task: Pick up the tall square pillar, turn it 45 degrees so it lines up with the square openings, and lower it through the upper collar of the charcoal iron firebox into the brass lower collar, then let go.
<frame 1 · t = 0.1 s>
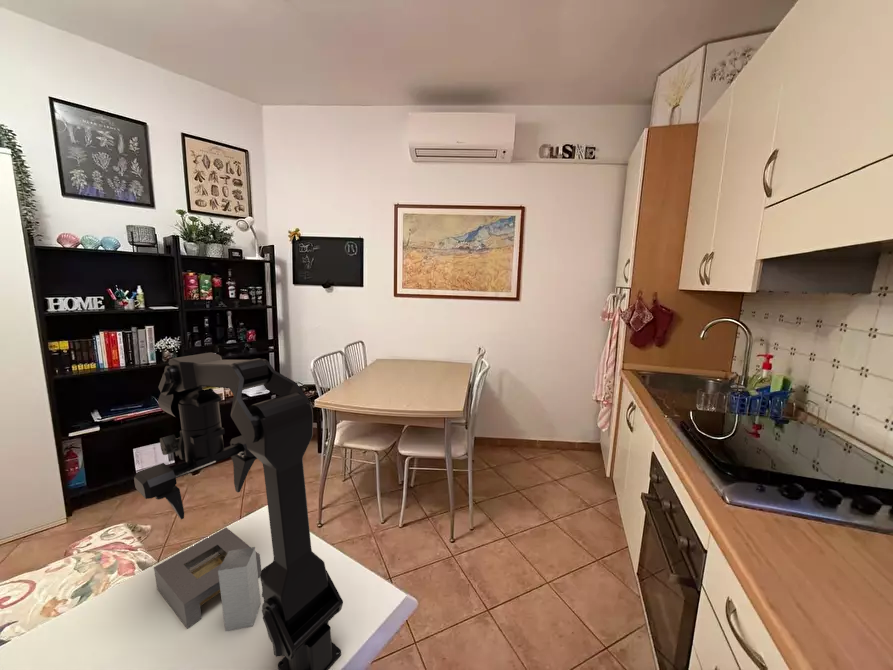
hand: (211, 504, 63), 14 cm above the table, tool pointing down, fingers open, 9 cm apart
firebox: (210, 582, 63), on the table
tall square pillar: (243, 616, 57), on the table
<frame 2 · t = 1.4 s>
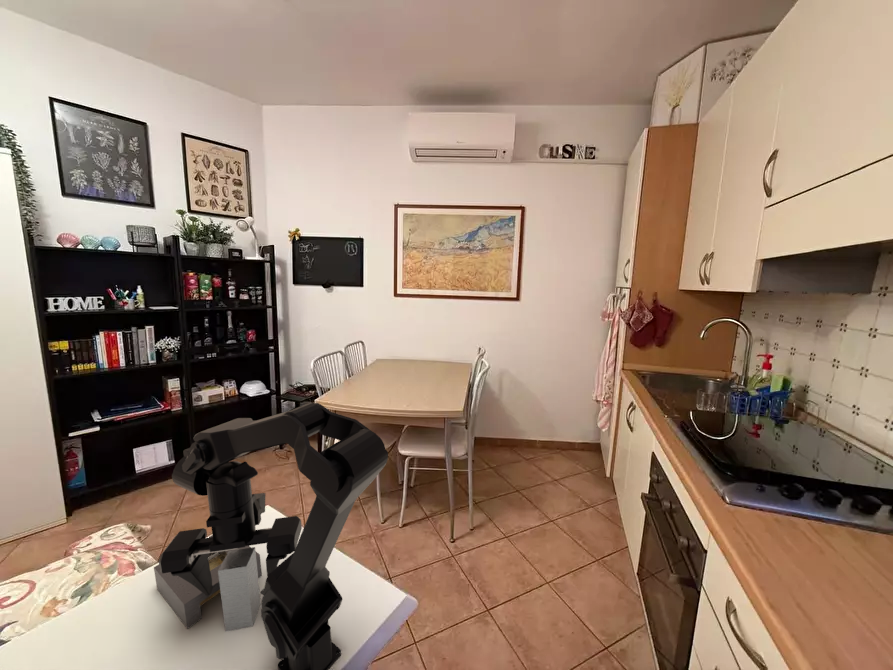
hand: (241, 588, 56), 6 cm above the table, tool pointing down, fingers open, 9 cm apart
nothing on the table moved.
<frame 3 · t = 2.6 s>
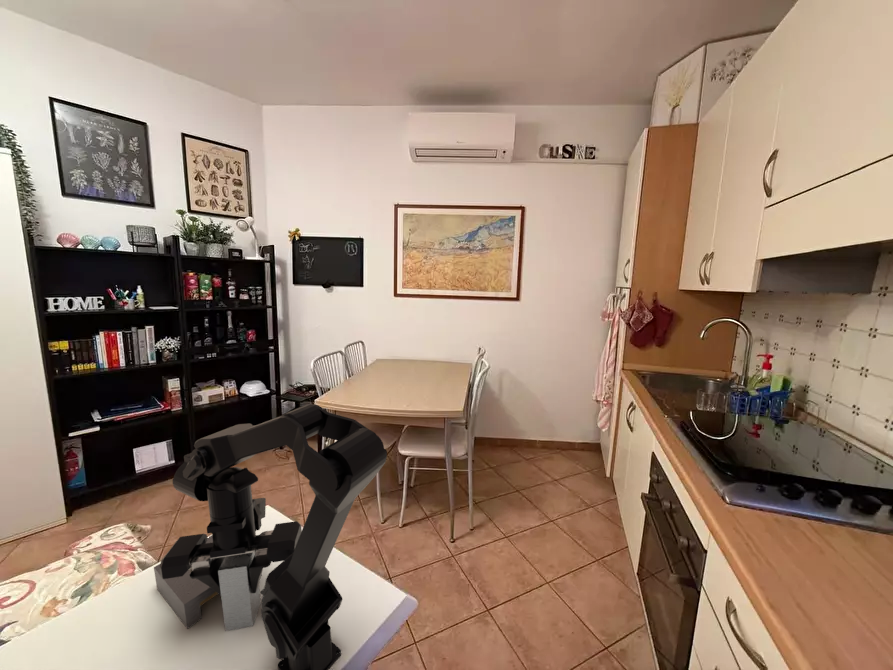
hand: (241, 593, 56), 5 cm above the table, tool pointing down, fingers closed on tall square pillar, 4 cm apart
tall square pillar: (243, 616, 57), on the table, touching gripper
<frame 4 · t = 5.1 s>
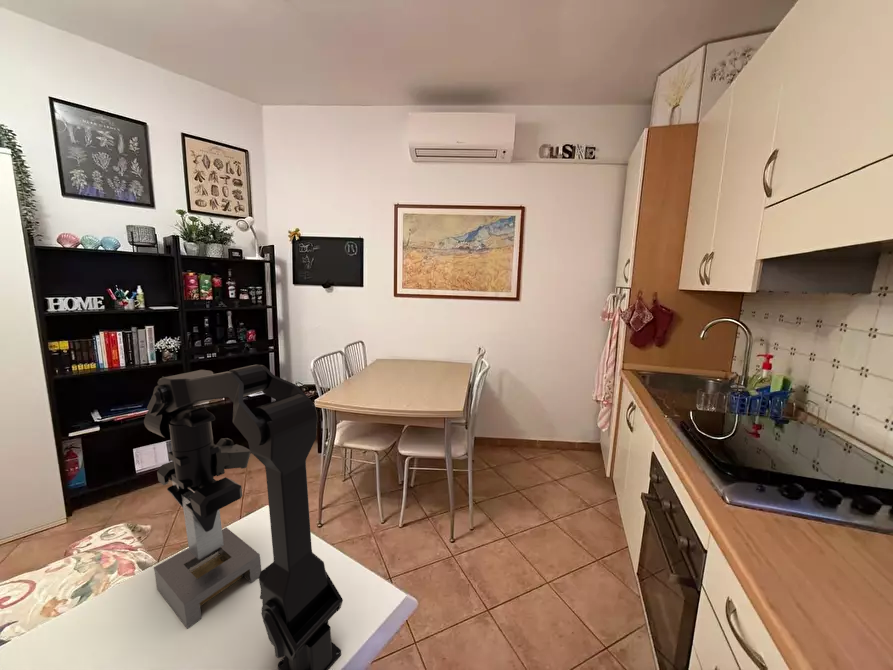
hand: (203, 525, 61), 12 cm above the table, tool pointing down, fingers closed on tall square pillar, 4 cm apart
tall square pillar: (206, 547, 62), point 7 cm above the table, touching gripper
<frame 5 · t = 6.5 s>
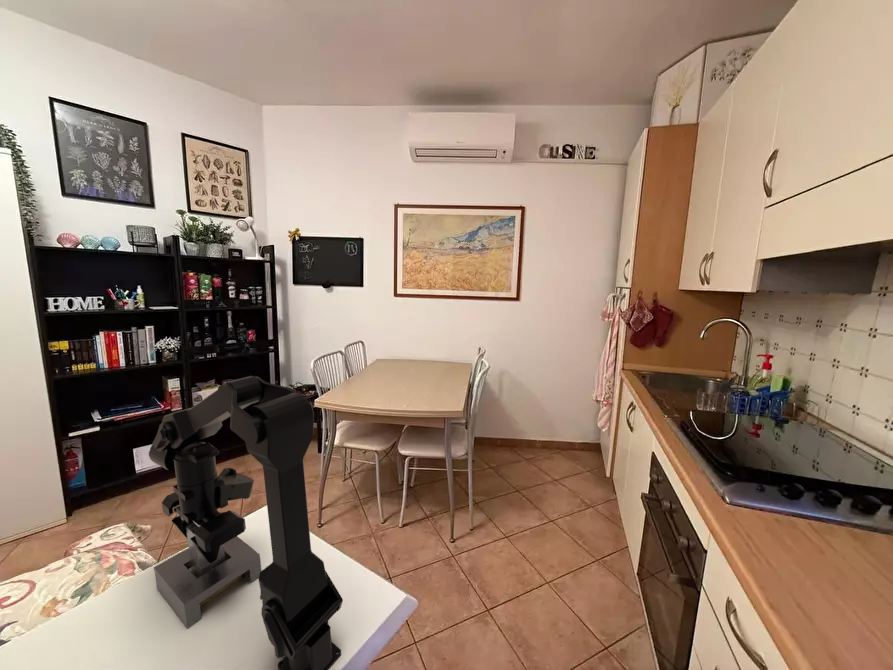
hand: (207, 556, 62), 5 cm above the table, tool pointing down, fingers closed on tall square pillar, 4 cm apart
tall square pillar: (210, 577, 63), point 1 cm above the table, touching gripper
when the fingers open (5 cm above the table, at t = 7.4 s): tall square pillar stays where it is, resting in firebox.
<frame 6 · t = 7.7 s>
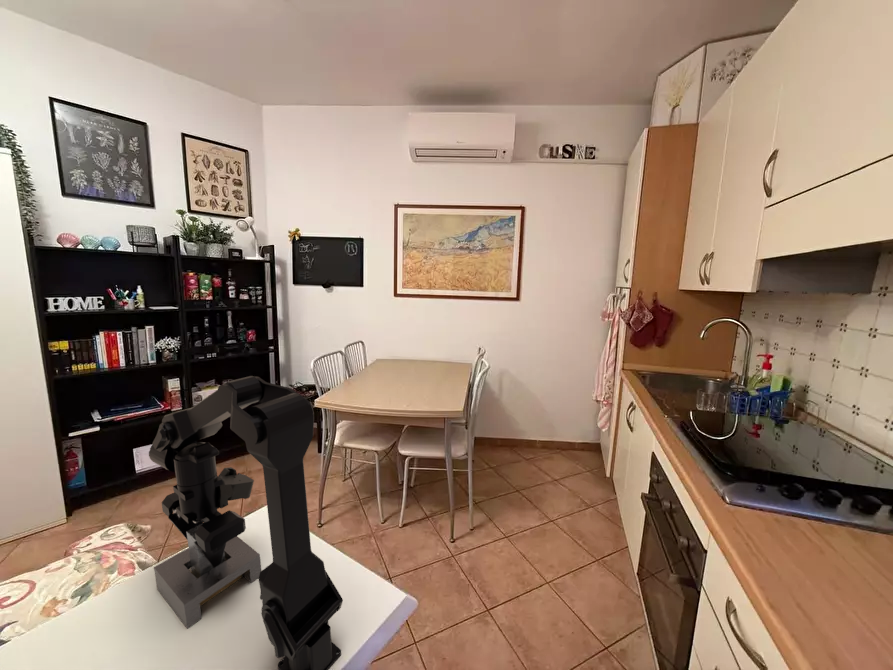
hand: (207, 556, 62), 5 cm above the table, tool pointing down, fingers open, 7 cm apart
tall square pillar: (210, 582, 63), resting in firebox
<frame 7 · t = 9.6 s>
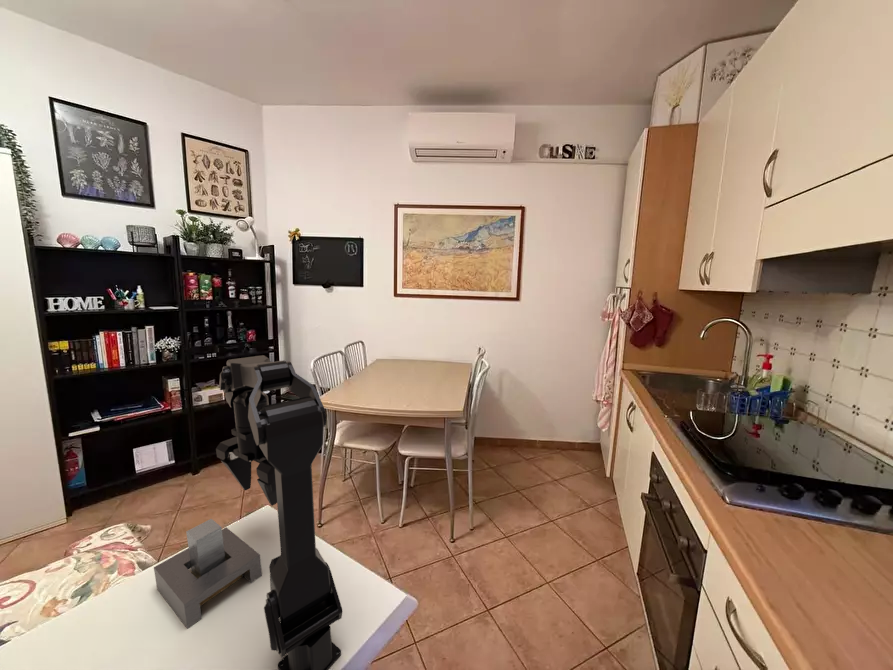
hand: (260, 496, 68), 13 cm above the table, tool pointing down, fingers open, 9 cm apart
nothing on the table moved.
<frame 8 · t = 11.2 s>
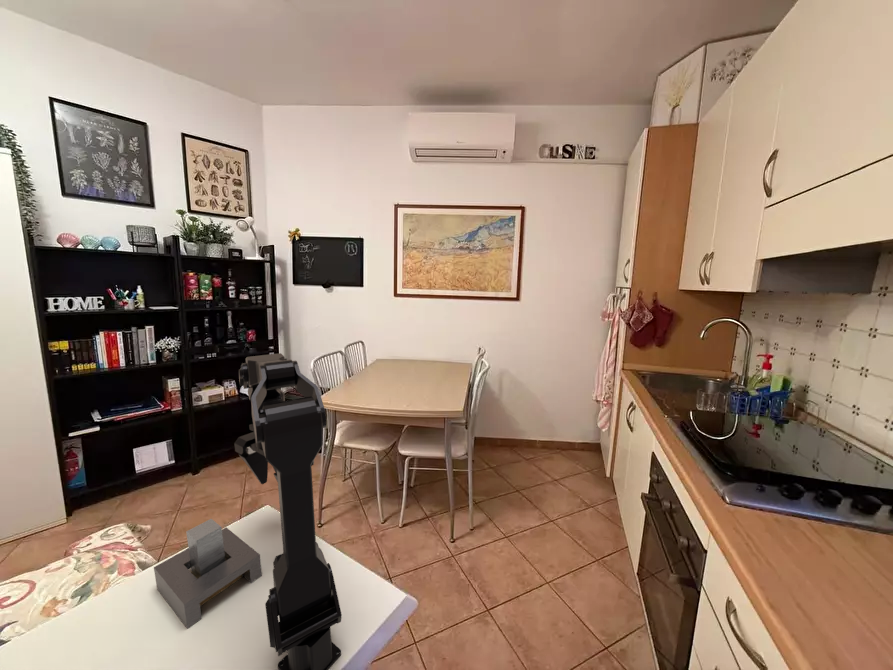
hand: (276, 490, 70), 13 cm above the table, tool pointing down, fingers open, 9 cm apart
nothing on the table moved.
at the end: tall square pillar 0.0 cm off-centre on the firebox, point 0.0 cm above the firebox's base; tall square pillar tilted 0°; the gripper is holding nothing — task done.
